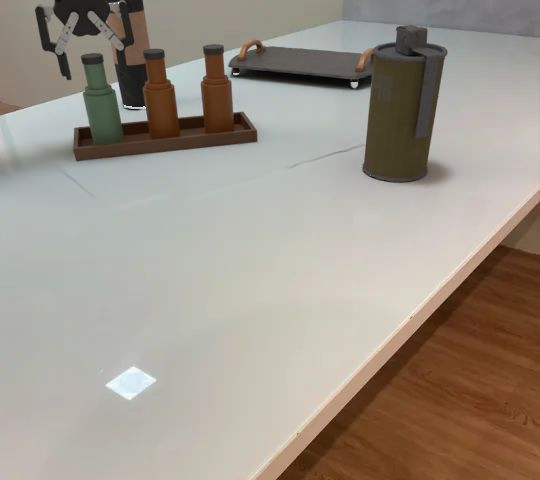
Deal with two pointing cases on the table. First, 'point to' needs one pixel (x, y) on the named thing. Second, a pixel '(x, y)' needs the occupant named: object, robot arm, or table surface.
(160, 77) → the amber bottle mid
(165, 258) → the table surface
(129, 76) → the travel mug
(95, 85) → the green bottle
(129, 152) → the row tray
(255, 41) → the serving tray
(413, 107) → the canister
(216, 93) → the amber bottle far
